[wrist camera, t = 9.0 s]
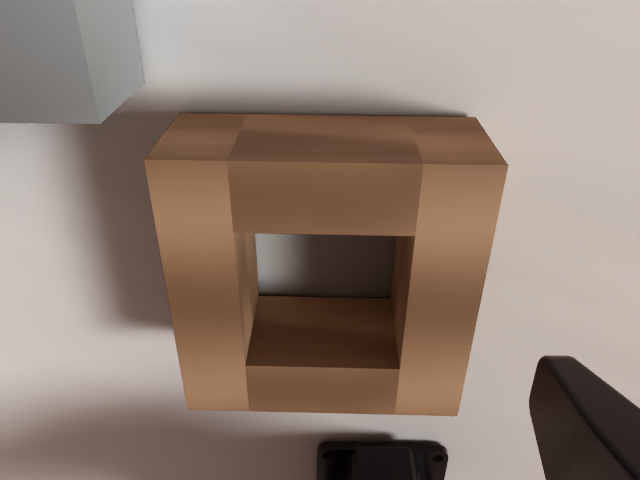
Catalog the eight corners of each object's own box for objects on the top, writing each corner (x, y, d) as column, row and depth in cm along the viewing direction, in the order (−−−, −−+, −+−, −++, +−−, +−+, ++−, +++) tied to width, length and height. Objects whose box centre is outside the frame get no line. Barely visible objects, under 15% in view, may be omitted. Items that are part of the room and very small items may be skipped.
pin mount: (439, 342, 23) (457, 416, 20) (209, 337, 24) (187, 409, 20) (475, 117, 18) (508, 165, 15) (179, 113, 18) (143, 159, 15)
